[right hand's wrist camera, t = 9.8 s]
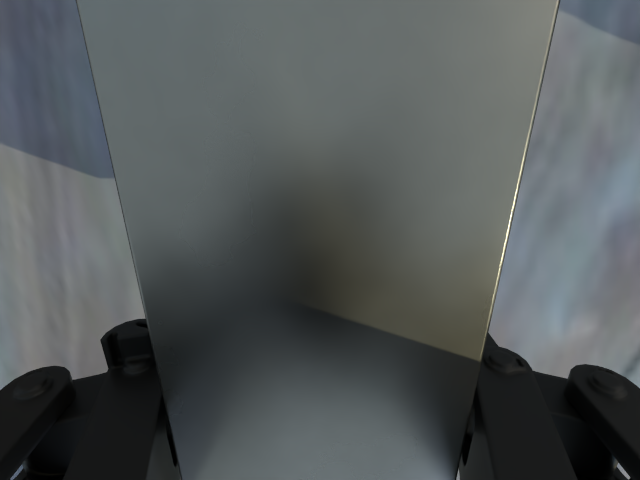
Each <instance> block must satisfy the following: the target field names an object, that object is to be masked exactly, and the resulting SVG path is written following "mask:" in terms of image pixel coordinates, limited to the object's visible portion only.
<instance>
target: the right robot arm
mask: <svg viewBox="0 0 640 480" xmlns="http://www.w3.org/2000/svg"><path fill="white" fill-rule="evenodd" d="M101 344H102V347H103V351H104V354H105V358H106V362H107V365H108V371H107V372H106V373H103V374H99V375H94V376H90V377H85V378H81V379H76V380H72V377H71V375H70V372H69V371H68V370H67V369H66V368H65V367H60V366H50V367H43V368H39V369H36V370H33V371H30V372H28V373H26V374H24V375H22V376H20V377H18V378H16V379H14V380H13V381H12V382H10V383H9V384H8V385H6V386H5V387H4V388H3V389H1V390H0V480H10V478H11V477H12V476H13V475H14V473H15V472H16V471H17V470H18V468H19V467H20V466H21V465H23V467H24V468H23V469H22V471H21V472H20V473H19V475H18V476H17V477H16V478H15V479H13V480H181V476H180V472H179V467H178V463H177V458H176V454H175V449H174V445H173V440H172V435H171V431H170V426H169V422H168V417H167V413H166V408H165V404H164V399H163V395H162V390H161V385H160V381H159V376H158V372H157V367H156V363H155V358H154V354H153V349H152V344H151V340H150V335H149V331H148V326H147V322H146V319H137V320H132V321H128V322H125V323H123V324H120V325H118V326H116V327H114V328H113V329H111V330H110V331H108V332H107V333H106V334H105V335H104V336H103V337H102V339H101ZM618 462H619V464H620V465H621V466H622V467H623V469H624V470H625V471H626V472H627V474H628V475H629V476H630V477H631V478H630V479H629V480H640V388H638V387H637V386H636V385H635V384H633V383H632V382H631V381H629V380H628V379H627V378H625V377H623V376H621V375H620V374H618V373H616V372H614V371H612V370H609V369H606V368H603V367H599V366H594V365H587V364H584V365H576V366H575V367H574V368H572V369H571V371H570V374H569V377H568V379H566V378H561V377H557V376H552V375H548V374H543V373H539V372H535V371H532V368H531V367H530V366H529V364H528V363H527V361H526V360H525V359H523V358H522V357H521V356H519V355H518V354H516V353H514V352H512V351H510V350H508V349H505V348H502V347H498V345H497V344H496V343H495V341H494V340H493V339H492V337H491V336H490V334H489V333H488V335H487V339H486V344H485V349H484V353H483V358H482V362H481V367H480V372H479V376H478V381H477V385H476V390H475V395H474V399H473V404H472V408H471V413H470V418H469V422H468V427H467V431H466V436H465V441H464V445H463V450H462V454H461V459H460V464H459V473H460V480H628V479H627V478H626V477H625V476H624V475H623V474H622V473H621V472H620V470H619V469H618V468H617V464H618Z"/></svg>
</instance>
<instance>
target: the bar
mask: <svg viewBox="0 0 640 480" xmlns="http://www.w3.org/2000/svg"><path fill="white" fill-rule="evenodd" d="M76 3H77V8H78V12H79V17H80V21H81V26H82V30H83V35H84V39H85V44H86V48H87V53H88V58H89V62H90V67H91V71H92V76H93V80H94V85H95V89H96V94H97V99H98V103H99V108H100V112H101V117H102V121H103V126H104V130H105V135H106V140H107V144H108V149H109V153H110V158H111V162H112V167H113V171H114V176H115V181H116V185H117V190H118V194H119V199H120V203H121V208H122V212H123V217H124V222H125V226H126V231H127V235H128V240H129V244H130V249H131V253H132V258H133V262H134V267H135V272H136V276H137V281H138V285H139V290H140V294H141V299H142V303H143V308H144V313H145V317H146V322H147V326H148V331H149V335H150V340H151V344H152V349H153V354H154V358H155V363H156V367H157V372H158V376H159V381H160V385H161V390H162V395H163V399H164V404H165V408H166V413H167V417H168V422H169V426H170V431H171V435H172V440H173V445H174V449H175V454H176V458H177V463H178V467H179V472H180V476H181V480H456V477H457V473H458V468H459V464H460V459H461V454H462V450H463V445H464V441H465V436H466V431H467V427H468V422H469V418H470V413H471V408H472V404H473V399H474V395H475V390H476V385H477V381H478V376H479V372H480V367H481V362H482V358H483V353H484V349H485V344H486V339H487V335H488V330H489V326H490V321H491V316H492V312H493V307H494V303H495V298H496V293H497V289H498V284H499V280H500V275H501V270H502V266H503V261H504V257H505V252H506V247H507V243H508V238H509V234H510V229H511V225H512V220H513V215H514V211H515V206H516V202H517V197H518V192H519V188H520V183H521V179H522V174H523V169H524V165H525V160H526V156H527V151H528V146H529V142H530V137H531V133H532V128H533V123H534V119H535V114H536V110H537V105H538V100H539V96H540V91H541V87H542V82H543V77H544V73H545V68H546V64H547V59H548V54H549V50H550V45H551V41H552V36H553V31H554V27H555V22H556V18H557V13H558V8H559V4H560V0H76Z"/></svg>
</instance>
